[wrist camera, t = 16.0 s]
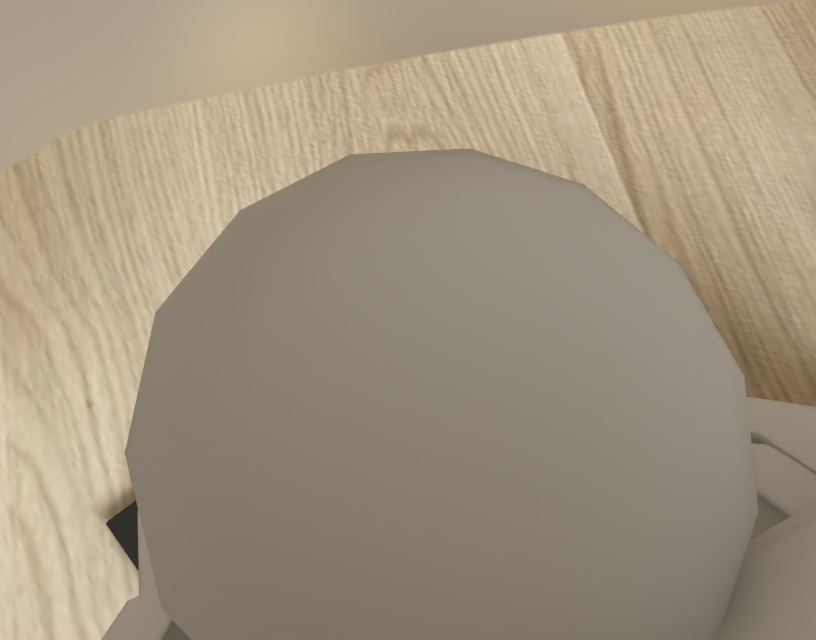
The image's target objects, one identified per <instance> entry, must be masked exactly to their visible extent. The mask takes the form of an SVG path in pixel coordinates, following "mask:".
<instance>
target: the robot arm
mask: <svg viewBox="0 0 816 640" xmlns="http://www.w3.org/2000/svg"><path fill="white" fill-rule="evenodd" d="M747 405H748V415H749V424H750V434H751V444H752V453H753V463H754V472H755V482H756V492H757V501H758V511H759V512H758V515H757V518H756V521H755V524H754V527H753V530H752V534H751V537H750V540H749V543H748V546H747V549H746V552H745V555H744V558H743V561H742V564H741V567H740V570H739V573H738V576H737V579H736V582H735V585H734V588H733V591H732V594H731V597H730V601H729V604H728V607H727V610H726V613H725V616H724V619H723V622H722V625H721V628H720V631H719V634H718V637H717V640H816V406H811V405H804V404H797V403H790V402H783V401H776V400H769V399H762V398H754V397H747ZM138 557H139V596H138V597H136V598H134V599H132V600H129V601H127V602H126V604H125V605H124V607H123V608H122V610H121V611H120V613H119V614H118V616H117V617H116V619H115V620H114V622H113V623H112V625H111V626H110V628H109V629H108V631H107V632H106V633H105V635H104V636H103V638H102V639H101V640H191V639H190V638H189V637H188V636H187V635H186V634H185V633H184V632H183V631H182V630H181V629H180V627H179V626H178V625H177V624H176V623H175V622H174V621H173V620H172V619H171V618H170V617H169V616H168V614H167V613H166V612H165V611H164V610H163V609H162V608H161V604H160V600H159V596H158V591H157V587H156V583H155V579H154V574H153V570H152V566H151V562H150V557H149V553H148V549H147V545H146V540H145V536H144V532H143V528H142V523H141V519H140V515H139V511H138Z"/></svg>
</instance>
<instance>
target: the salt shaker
mask: <svg viewBox="0 0 816 640" xmlns="http://www.w3.org/2000/svg"><path fill="white" fill-rule="evenodd" d="M125 455H126V460H127V464H128V468H129V472H130V477H131V481H132V485H133V489H134V494H135V498H136V502H137V506H138V511H139V515H140V519H141V523H142V528H143V532H144V536H145V540H146V545H147V549H148V553H149V557H150V562H151V566H152V570H153V574H154V579H155V583H156V587H157V591H158V596H159V600H160V604H161V608H162V609H163V610H164V611H165V612H166V613H167V614H168V616H169V617H170V618H171V619H172V620H173V621H174V622H175V623H176V624H177V625H178V626H179V627H180V629H181V630H182V631H183V632H184V633H185V634H186V635H187V636H188V637H189V638H190V639H191V640H717V637H718V634H719V631H720V628H721V625H722V622H723V619H724V616H725V613H726V610H727V607H728V604H729V601H730V597H731V594H732V591H733V588H734V585H735V582H736V579H737V576H738V573H739V570H740V567H741V564H742V561H743V558H744V555H745V552H746V549H747V546H748V543H749V540H750V537H751V534H752V530H753V527H754V524H755V521H756V518H757V515H758V512H759V511H758V501H757V492H756V482H755V472H754V463H753V453H752V444H751V434H750V424H749V415H748V405H747V396H746V386H745V376H744V375H743V373H742V371H741V369H740V368H739V366H738V364H737V362H736V361H735V359H734V357H733V356H732V354H731V352H730V350H729V349H728V347H727V345H726V343H725V342H724V340H723V338H722V337H721V335H720V333H719V331H718V330H717V328H716V326H715V324H714V323H713V321H712V319H711V318H710V316H709V314H708V312H707V311H706V309H705V307H704V305H703V304H702V302H701V300H700V298H699V297H698V295H697V293H696V292H695V290H694V288H693V286H692V285H691V283H690V281H689V279H688V278H687V276H686V274H685V273H684V271H683V269H682V267H681V266H680V264H679V263H678V262H677V261H675V260H674V259H673V258H672V257H671V256H669V255H668V254H667V253H666V252H665V251H663V250H662V249H661V248H660V247H658V246H657V245H656V244H655V243H654V242H652V241H651V240H650V239H649V238H648V237H646V236H645V235H644V234H643V233H642V232H640V231H639V230H638V229H637V228H636V227H634V226H633V225H632V224H631V223H630V222H628V221H627V220H626V219H625V218H624V217H622V216H621V215H620V214H619V213H618V212H616V211H615V210H614V209H613V208H612V207H610V206H609V205H608V204H607V203H606V202H604V201H603V200H602V199H601V198H599V197H598V196H597V195H596V194H595V193H593V192H592V191H591V190H590V189H589V188H587V187H586V186H585V185H583V184H580V183H577V182H574V181H570V180H567V179H564V178H561V177H558V176H555V175H551V174H548V173H545V172H542V171H539V170H536V169H533V168H529V167H526V166H523V165H520V164H517V163H514V162H510V161H507V160H504V159H501V158H498V157H495V156H492V155H488V154H485V153H482V152H479V151H476V150H473V149H452V150H432V151H412V152H392V153H372V154H352V155H348V156H346V157H344V158H342V159H340V160H338V161H336V162H334V163H332V164H330V165H328V166H327V167H325V168H323V169H321V170H319V171H317V172H315V173H313V174H311V175H309V176H307V177H305V178H303V179H301V180H299V181H297V182H295V183H293V184H291V185H289V186H287V187H285V188H283V189H281V190H279V191H278V192H276V193H274V194H272V195H270V196H268V197H266V198H264V199H262V200H260V201H258V202H256V203H254V204H252V205H250V206H248V207H246V208H244V209H242V210H240V211H239V212H238V214H237V215H236V216H235V217H234V218H233V220H232V221H231V222H230V223H229V225H228V226H227V227H226V228H225V229H224V231H223V232H222V233H221V234H220V235H219V237H218V238H217V239H216V240H215V241H214V243H213V244H212V245H211V246H210V247H209V249H208V250H207V251H206V252H205V253H204V255H203V256H202V257H201V258H200V259H199V261H198V262H197V263H196V264H195V265H194V267H193V268H192V269H191V270H190V271H189V273H188V274H187V275H186V276H185V277H184V279H183V280H182V281H181V282H180V283H179V285H178V286H177V287H176V288H175V289H174V291H173V292H172V293H171V294H170V296H169V297H168V298H167V299H166V300H165V302H164V303H163V304H162V305H161V306H160V308H159V309H158V310H157V311H156V313H155V318H154V322H153V327H152V331H151V336H150V341H149V345H148V350H147V354H146V359H145V363H144V368H143V372H142V377H141V382H140V386H139V391H138V395H137V400H136V404H135V409H134V414H133V418H132V423H131V427H130V432H129V436H128V441H127V445H126V450H125Z"/></svg>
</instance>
